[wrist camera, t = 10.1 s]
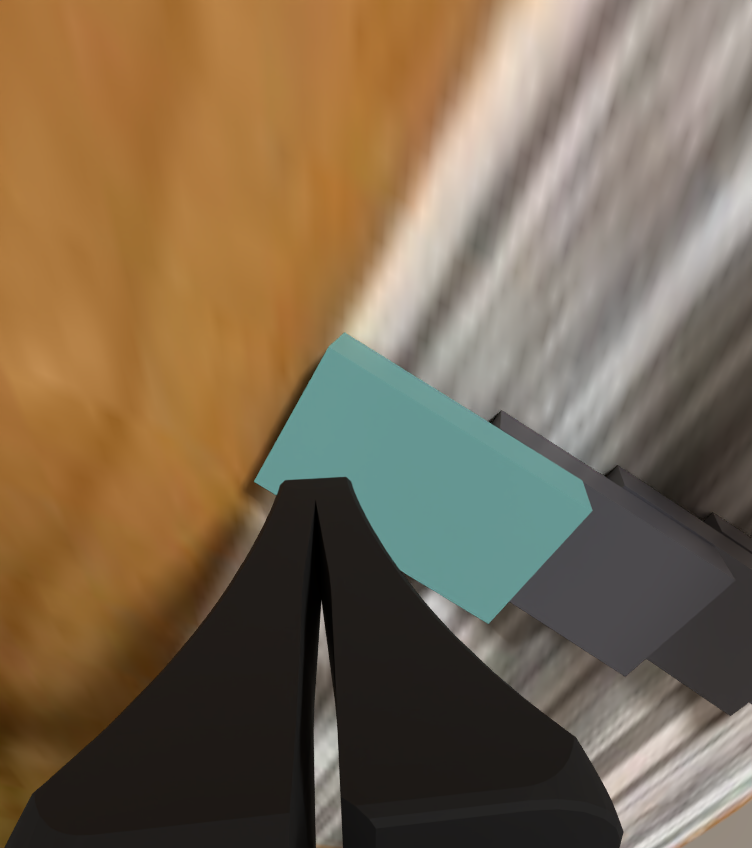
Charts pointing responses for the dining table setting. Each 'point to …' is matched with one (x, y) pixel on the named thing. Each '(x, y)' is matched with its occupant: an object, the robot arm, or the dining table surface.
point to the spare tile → (429, 478)
